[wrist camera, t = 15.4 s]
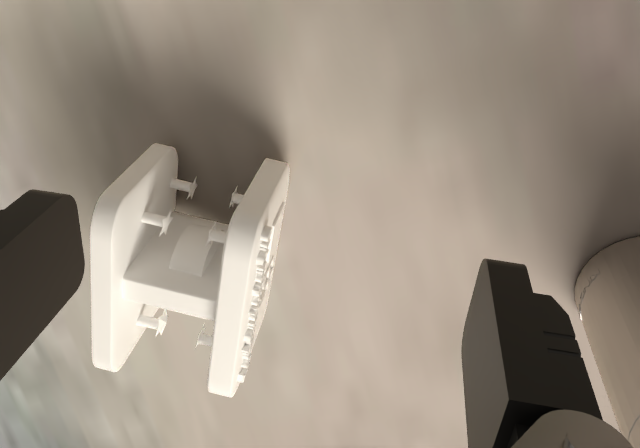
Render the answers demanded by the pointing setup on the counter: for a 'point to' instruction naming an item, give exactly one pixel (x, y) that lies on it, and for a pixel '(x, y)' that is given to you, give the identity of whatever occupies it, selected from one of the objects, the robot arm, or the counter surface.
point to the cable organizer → (183, 264)
